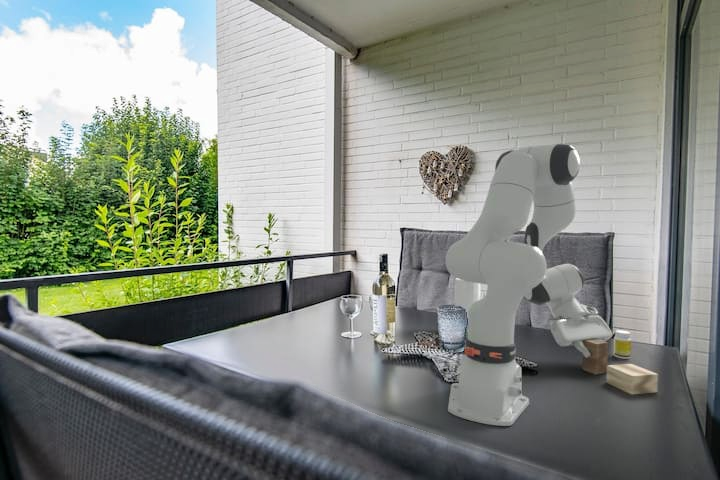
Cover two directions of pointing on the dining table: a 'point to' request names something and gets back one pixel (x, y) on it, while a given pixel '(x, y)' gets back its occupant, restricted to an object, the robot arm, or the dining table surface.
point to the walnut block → (596, 356)
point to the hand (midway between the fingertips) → (597, 355)
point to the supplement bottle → (622, 344)
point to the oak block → (632, 378)
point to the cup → (466, 293)
